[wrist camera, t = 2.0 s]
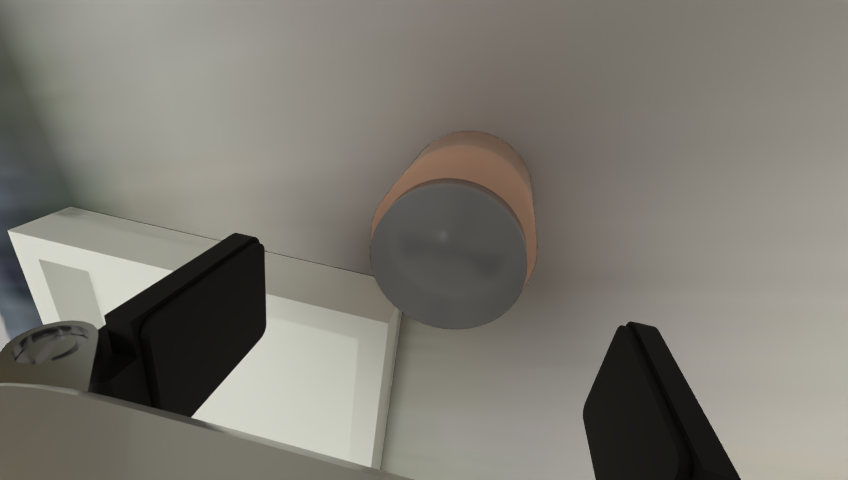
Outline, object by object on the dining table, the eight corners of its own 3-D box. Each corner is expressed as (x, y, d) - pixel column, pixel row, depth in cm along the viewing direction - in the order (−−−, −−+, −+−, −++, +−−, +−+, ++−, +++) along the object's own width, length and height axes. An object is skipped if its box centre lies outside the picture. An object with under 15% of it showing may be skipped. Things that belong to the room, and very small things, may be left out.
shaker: (416, 120, 16) (366, 161, 10) (546, 143, 15) (563, 200, 10) (401, 234, 18) (354, 315, 13) (514, 258, 17) (513, 354, 12)
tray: (70, 206, 21) (7, 230, 19) (406, 284, 19) (388, 323, 16) (137, 433, 30) (99, 472, 27) (375, 504, 27) (360, 554, 25)
